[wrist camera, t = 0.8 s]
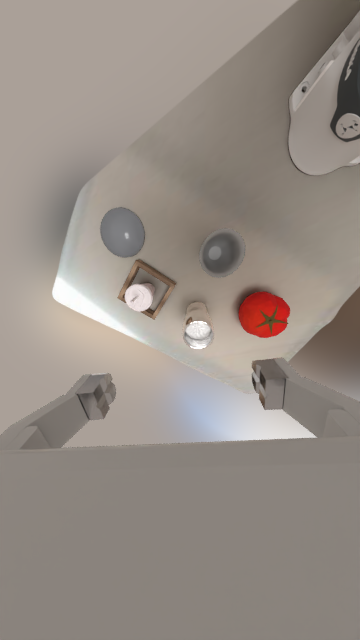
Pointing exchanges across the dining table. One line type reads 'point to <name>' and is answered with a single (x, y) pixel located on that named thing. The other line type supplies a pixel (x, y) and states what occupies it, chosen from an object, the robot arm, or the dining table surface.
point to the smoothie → (139, 296)
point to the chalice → (222, 252)
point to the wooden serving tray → (156, 274)
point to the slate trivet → (122, 232)
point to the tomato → (264, 314)
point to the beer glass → (197, 326)
